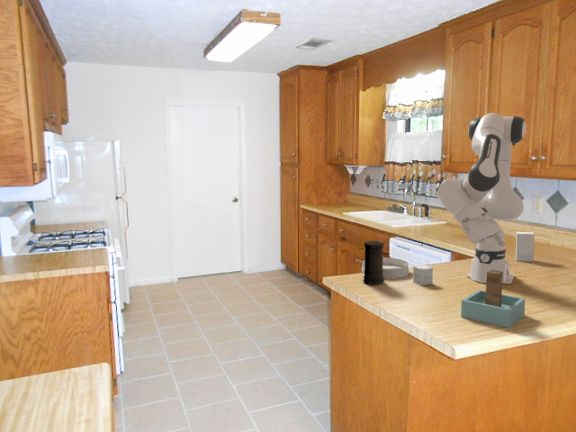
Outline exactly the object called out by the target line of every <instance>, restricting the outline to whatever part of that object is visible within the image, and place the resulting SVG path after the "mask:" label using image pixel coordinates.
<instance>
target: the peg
mask: <svg viewBox="0 0 576 432" xmlns="http://www.w3.org/2000/svg"><path fill="white" fill-rule="evenodd" d="M502 281H503V271H497V270H489V271H488V272H487V281H486V283H485V291H486V302H485V304H487V305H492V306H497V307H501V300H502V294H503V284H502Z"/></svg>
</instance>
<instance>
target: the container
mask: <svg viewBox="0 0 576 432" xmlns="http://www.w3.org/2000/svg"><path fill="white" fill-rule="evenodd" d="M363 245H364V249H365V250H364V260H365V270H364V272H365V274H363V275H364V276H363V279H362V281H363V283H364V284H365V285H369V286H380V285H383V284H384V282H385V280H384V279H383V278H384V277H383V258H384V257H383V256H384V253H383V252H384V251H383V248H384V245H385V244H384V242H382V241H377V240H376V241H375V240H374V241H373V240H372V241H370V240H369V241H365V242H364V244H363Z"/></svg>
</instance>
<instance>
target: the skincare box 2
mask: <svg viewBox="0 0 576 432" xmlns="http://www.w3.org/2000/svg"><path fill="white" fill-rule="evenodd" d="M515 232H516V234H515V261H516V262H531V263H533V262H534V257H535V256H534V253H535V233H534V232H532V231H515Z"/></svg>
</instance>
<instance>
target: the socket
mask: <svg viewBox="0 0 576 432" xmlns="http://www.w3.org/2000/svg"><path fill="white" fill-rule="evenodd" d="M485 302H486V290H483V289H478V290H476V291H474V292H473V293H471V294H470V295H468V296H466V297H465V298H463V299H461V306H460V307H461V310H460V311H461V312H460V317H461V318H465V319H469V320H473V321H477V322H481V323H485V324H486V323H487V324H490V325H493V326H494V325H495V326H498V327H502V328H507V329H510V328H512V327H513V325H515V324H516V323H517V322H518V321H519V320H521V319H522V318H523V317H524V316H525V311H526V298H524V297H519V296H513V295H509V294H508V295H507V294H505V293H502V300H501V307H497V306H492V305H487V304H485Z"/></svg>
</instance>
